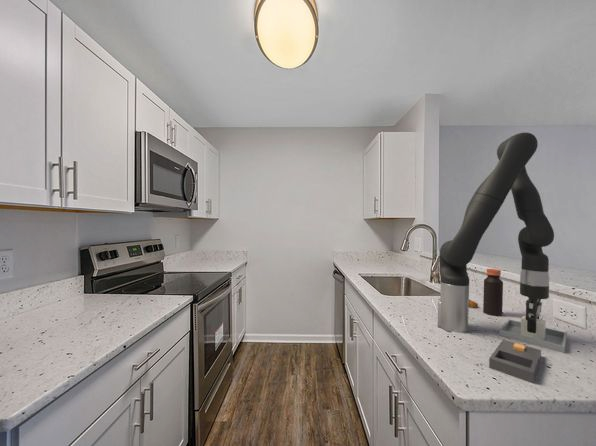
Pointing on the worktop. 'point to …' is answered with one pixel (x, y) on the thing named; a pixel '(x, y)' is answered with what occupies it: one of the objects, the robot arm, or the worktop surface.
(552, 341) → the tray
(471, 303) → the pastry
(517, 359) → the grey slotted base
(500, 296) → the bottle
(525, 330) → the block
